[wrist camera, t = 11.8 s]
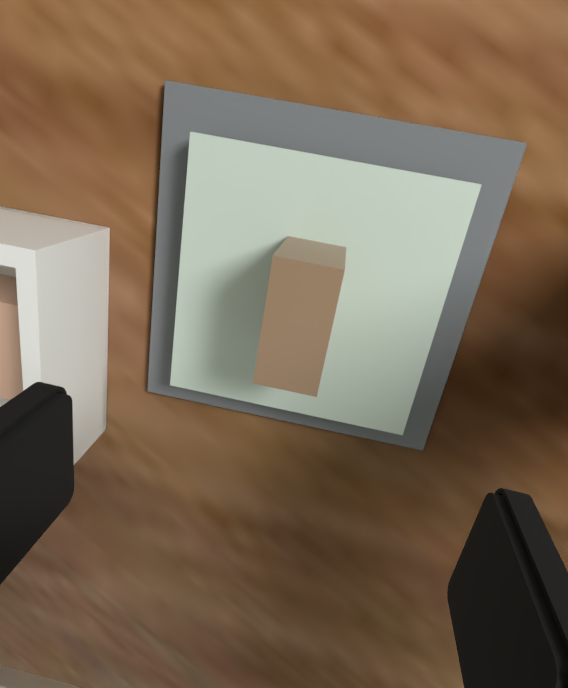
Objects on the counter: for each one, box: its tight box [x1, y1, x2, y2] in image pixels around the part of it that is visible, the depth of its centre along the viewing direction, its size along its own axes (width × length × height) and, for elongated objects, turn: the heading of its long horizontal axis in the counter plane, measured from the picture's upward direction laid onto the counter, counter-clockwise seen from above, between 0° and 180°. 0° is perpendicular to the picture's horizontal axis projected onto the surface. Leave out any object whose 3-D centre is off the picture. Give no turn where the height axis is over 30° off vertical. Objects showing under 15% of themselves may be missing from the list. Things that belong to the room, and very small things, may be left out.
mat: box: [148, 80, 527, 451], centre depth 27 cm, size 18×18×1 cm
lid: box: [170, 132, 481, 435], centre depth 23 cm, size 14×14×7 cm
